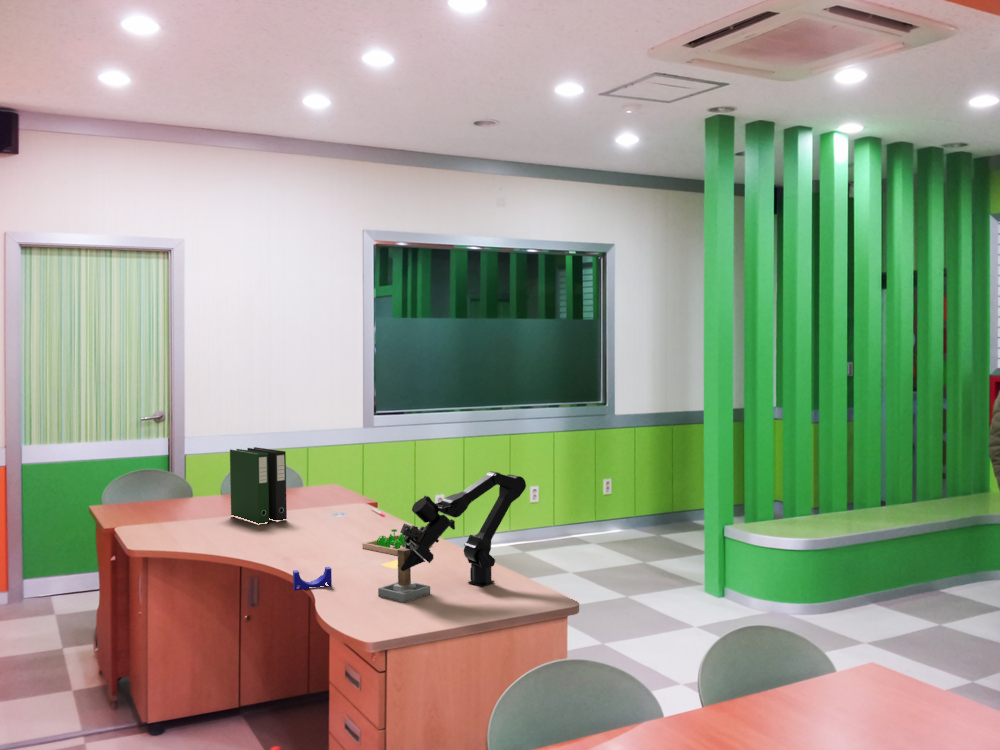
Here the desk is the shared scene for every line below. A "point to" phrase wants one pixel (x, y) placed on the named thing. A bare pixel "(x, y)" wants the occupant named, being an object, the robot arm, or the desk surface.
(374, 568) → the desk surface
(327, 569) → the cable clip
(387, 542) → the green leafy plants
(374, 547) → the shallow wooden tray
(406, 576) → the wooden post on base
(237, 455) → the binder
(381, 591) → the tray
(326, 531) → the desk surface
